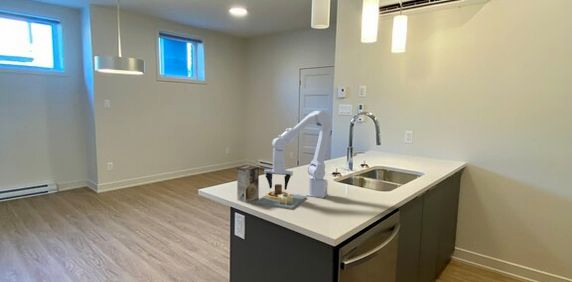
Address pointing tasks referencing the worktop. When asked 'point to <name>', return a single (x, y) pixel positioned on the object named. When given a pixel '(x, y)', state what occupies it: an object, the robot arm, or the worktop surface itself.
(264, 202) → the carrier plate
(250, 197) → the coffee box
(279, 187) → the planet gear
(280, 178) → the worktop surface
